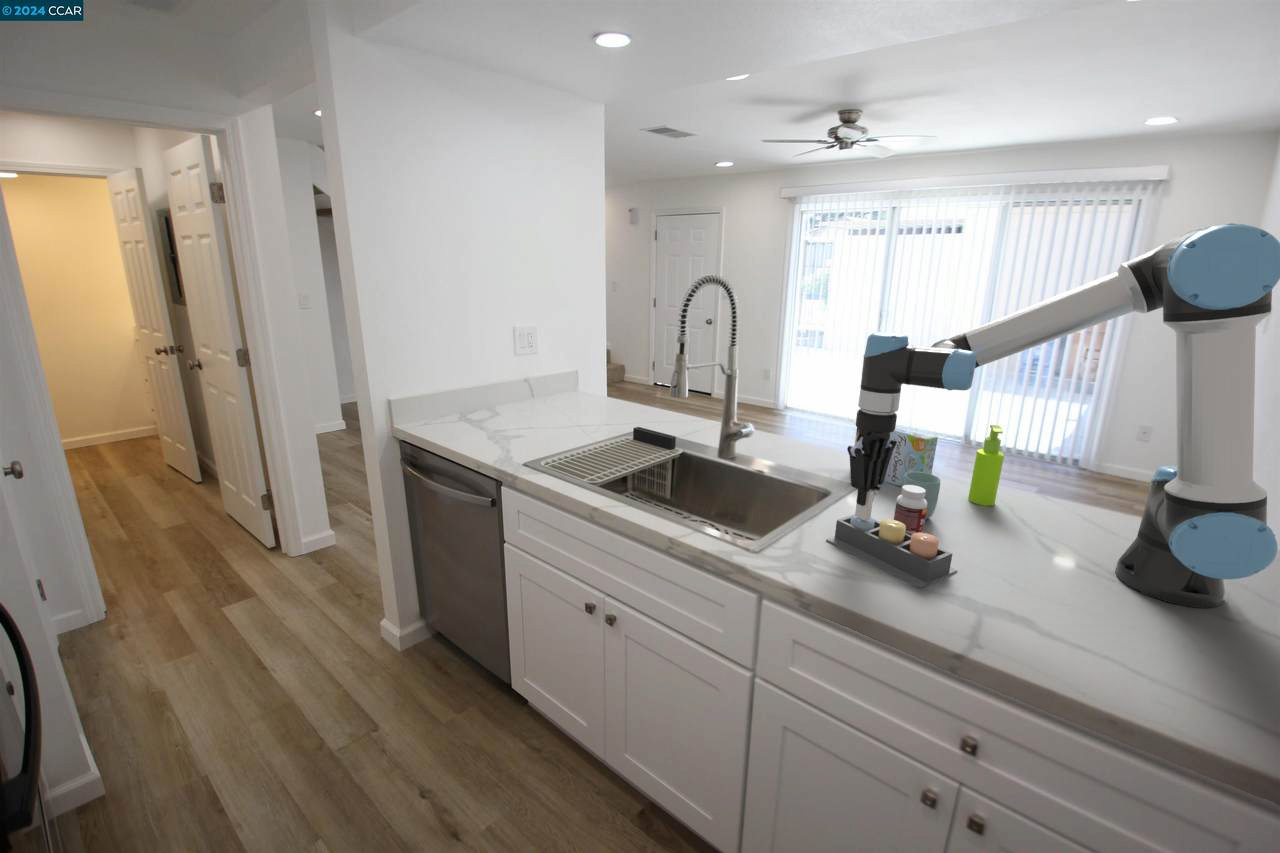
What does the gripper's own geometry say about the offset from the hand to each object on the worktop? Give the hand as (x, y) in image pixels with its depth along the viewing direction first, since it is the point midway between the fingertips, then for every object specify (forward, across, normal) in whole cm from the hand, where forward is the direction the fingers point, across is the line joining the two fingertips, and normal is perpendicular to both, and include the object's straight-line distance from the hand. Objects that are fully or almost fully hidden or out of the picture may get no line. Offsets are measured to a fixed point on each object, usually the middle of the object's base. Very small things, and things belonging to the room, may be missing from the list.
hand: (862, 517), depth 122 cm
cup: (+6, -23, -2) cm, 24 cm away
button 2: (+3, 0, +7) cm, 8 cm away
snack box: (+6, -39, -21) cm, 45 cm away
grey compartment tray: (+6, 0, +7) cm, 9 cm away
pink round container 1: (+3, 0, +14) cm, 14 cm away
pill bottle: (+6, -12, +3) cm, 14 cm away
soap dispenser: (+6, -46, +1) cm, 46 cm away
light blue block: (+5, 0, 0) cm, 5 cm away
